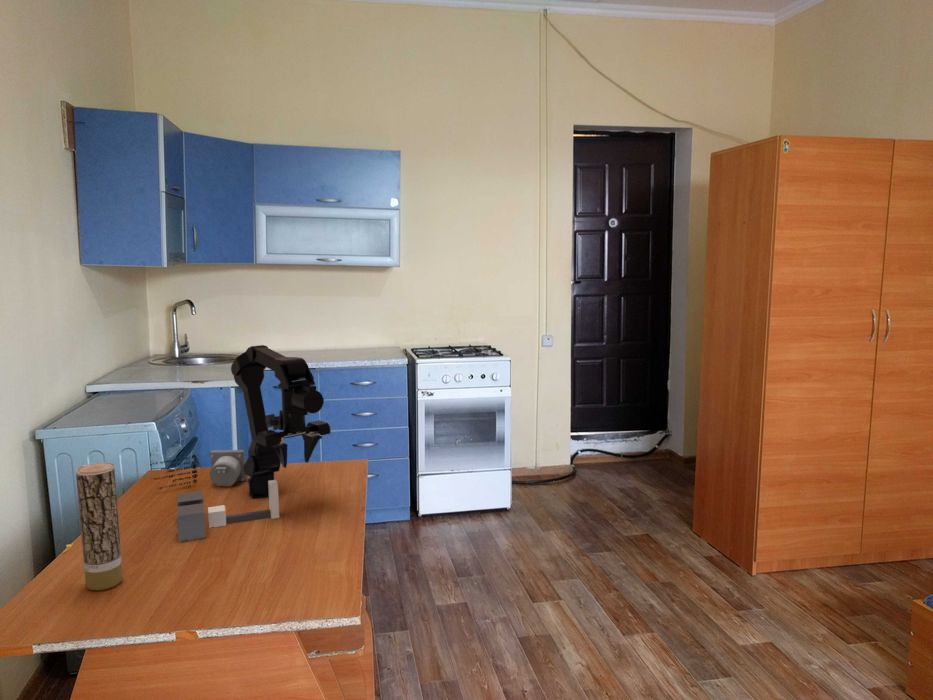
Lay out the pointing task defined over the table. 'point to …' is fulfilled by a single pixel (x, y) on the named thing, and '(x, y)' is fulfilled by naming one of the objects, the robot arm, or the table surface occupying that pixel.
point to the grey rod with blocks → (220, 519)
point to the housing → (190, 516)
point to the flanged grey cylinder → (219, 468)
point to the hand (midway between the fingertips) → (295, 464)
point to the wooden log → (99, 525)
